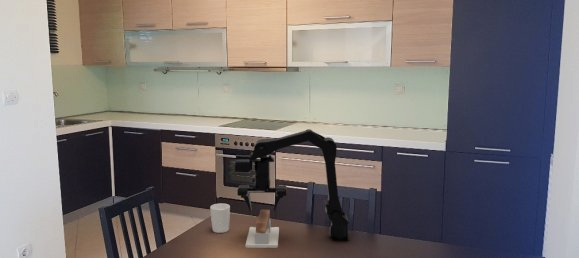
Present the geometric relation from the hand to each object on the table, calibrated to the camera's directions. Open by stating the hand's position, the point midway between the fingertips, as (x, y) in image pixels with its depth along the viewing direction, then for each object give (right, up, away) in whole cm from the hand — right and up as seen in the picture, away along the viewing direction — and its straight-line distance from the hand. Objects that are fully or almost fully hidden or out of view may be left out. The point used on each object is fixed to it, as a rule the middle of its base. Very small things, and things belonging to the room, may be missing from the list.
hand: (262, 211), depth 181 cm
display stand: (0, -11, +2) cm, 11 cm away
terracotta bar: (0, -6, +1) cm, 6 cm away
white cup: (-18, -10, +10) cm, 23 cm away
